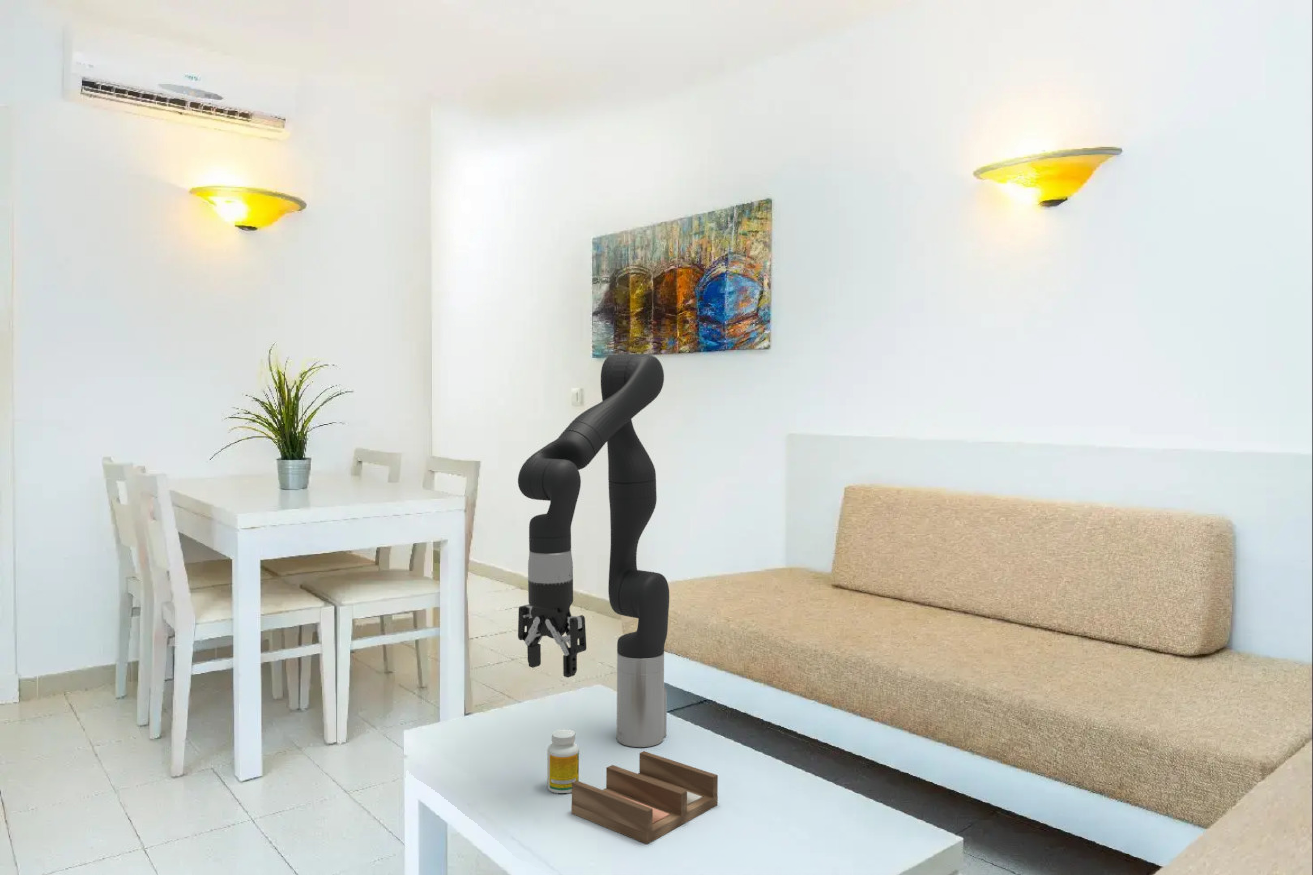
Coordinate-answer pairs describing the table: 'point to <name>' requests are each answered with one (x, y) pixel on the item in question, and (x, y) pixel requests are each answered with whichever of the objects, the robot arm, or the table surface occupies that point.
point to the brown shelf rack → (647, 797)
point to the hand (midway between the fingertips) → (551, 671)
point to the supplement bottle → (562, 762)
